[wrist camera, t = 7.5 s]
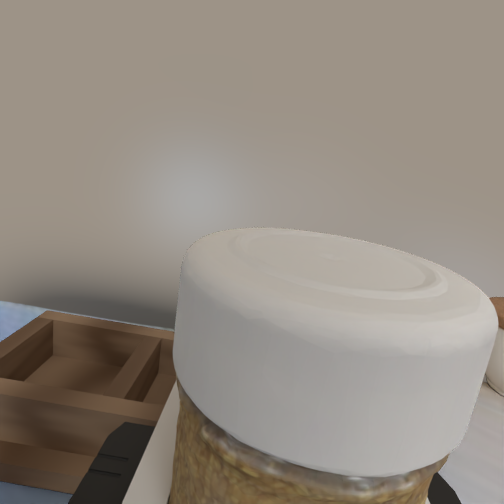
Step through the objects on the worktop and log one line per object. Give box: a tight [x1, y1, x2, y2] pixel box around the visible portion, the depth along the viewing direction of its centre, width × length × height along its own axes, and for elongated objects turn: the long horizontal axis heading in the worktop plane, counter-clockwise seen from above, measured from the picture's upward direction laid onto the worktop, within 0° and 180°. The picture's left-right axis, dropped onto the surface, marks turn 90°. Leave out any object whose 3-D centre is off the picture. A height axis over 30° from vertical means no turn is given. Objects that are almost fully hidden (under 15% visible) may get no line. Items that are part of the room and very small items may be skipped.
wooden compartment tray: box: [0, 310, 176, 494], centre depth 24 cm, size 28×12×4 cm, turn 86°
